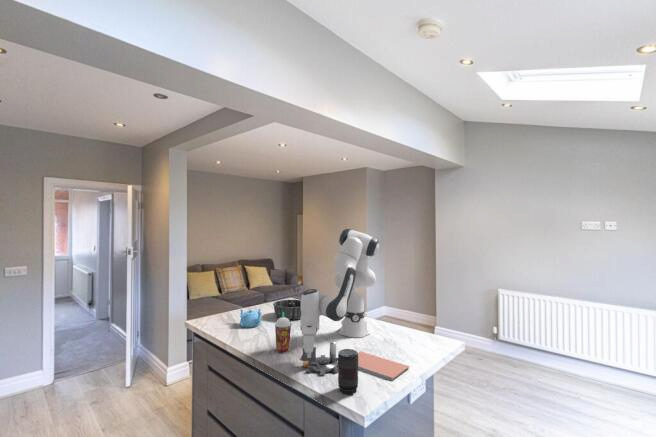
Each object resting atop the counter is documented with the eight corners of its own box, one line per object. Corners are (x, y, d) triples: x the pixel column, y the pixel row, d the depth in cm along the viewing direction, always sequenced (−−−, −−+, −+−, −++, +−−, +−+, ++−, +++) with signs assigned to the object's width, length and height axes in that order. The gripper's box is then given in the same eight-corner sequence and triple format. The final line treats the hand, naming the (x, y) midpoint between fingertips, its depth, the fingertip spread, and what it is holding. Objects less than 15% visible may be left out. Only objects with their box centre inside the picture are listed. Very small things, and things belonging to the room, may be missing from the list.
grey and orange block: (302, 358, 152) (303, 347, 152) (315, 358, 152) (315, 347, 152) (302, 360, 149) (302, 349, 149) (315, 360, 149) (315, 349, 149)
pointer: (301, 358, 160) (301, 355, 160) (304, 357, 161) (304, 354, 161) (306, 360, 157) (306, 357, 157) (309, 359, 158) (309, 356, 158)
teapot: (237, 329, 203) (238, 313, 204) (239, 322, 218) (239, 307, 218) (261, 328, 207) (262, 312, 207) (261, 321, 221) (261, 306, 221)
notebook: (340, 365, 154) (340, 360, 154) (360, 354, 167) (360, 350, 167) (391, 383, 136) (391, 378, 136) (409, 370, 149) (409, 365, 149)
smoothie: (273, 348, 172) (273, 310, 172) (288, 347, 175) (289, 309, 175) (276, 354, 164) (277, 314, 164) (292, 352, 167) (293, 313, 167)
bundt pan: (296, 310, 253) (296, 297, 253) (317, 318, 232) (317, 303, 233) (266, 315, 236) (266, 302, 236) (285, 324, 216) (285, 309, 216)
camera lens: (333, 389, 130) (334, 351, 130) (349, 383, 134) (349, 347, 135) (346, 398, 123) (346, 357, 123) (362, 392, 128) (362, 353, 128)
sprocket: (304, 357, 160) (304, 336, 160) (341, 358, 160) (341, 336, 160) (301, 374, 141) (301, 350, 141) (343, 375, 141) (344, 350, 142)
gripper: (304, 318, 161) (303, 347, 161) (301, 331, 141) (301, 364, 140) (317, 319, 161) (316, 347, 161) (316, 332, 141) (315, 364, 140)
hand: (309, 355), depth 150 cm, fingers closed on grey and orange block, 3 cm apart
